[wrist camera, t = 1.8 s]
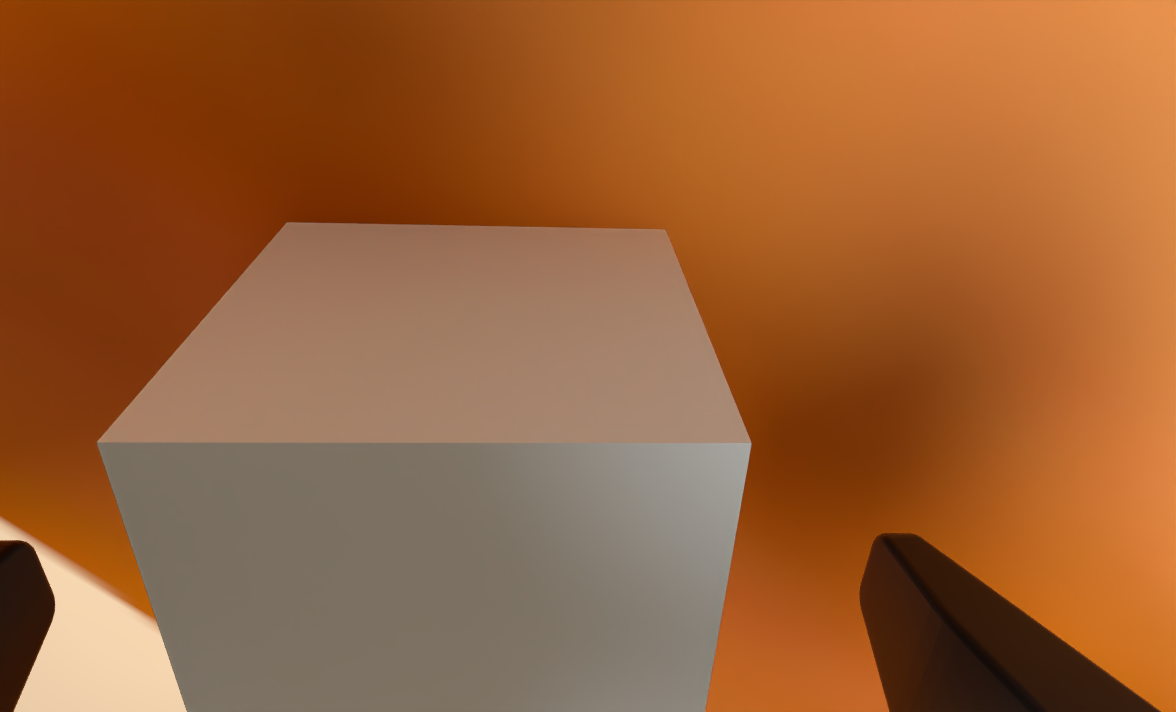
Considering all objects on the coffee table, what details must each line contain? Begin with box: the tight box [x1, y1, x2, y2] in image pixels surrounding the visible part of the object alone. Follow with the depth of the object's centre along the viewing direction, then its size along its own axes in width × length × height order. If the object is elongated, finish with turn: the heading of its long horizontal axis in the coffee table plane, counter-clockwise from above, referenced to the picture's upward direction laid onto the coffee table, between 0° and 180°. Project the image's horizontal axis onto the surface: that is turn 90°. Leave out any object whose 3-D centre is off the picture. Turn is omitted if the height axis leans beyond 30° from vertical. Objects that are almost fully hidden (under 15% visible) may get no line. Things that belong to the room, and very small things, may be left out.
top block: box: [97, 222, 752, 712], centre depth 9 cm, size 5×5×5 cm
